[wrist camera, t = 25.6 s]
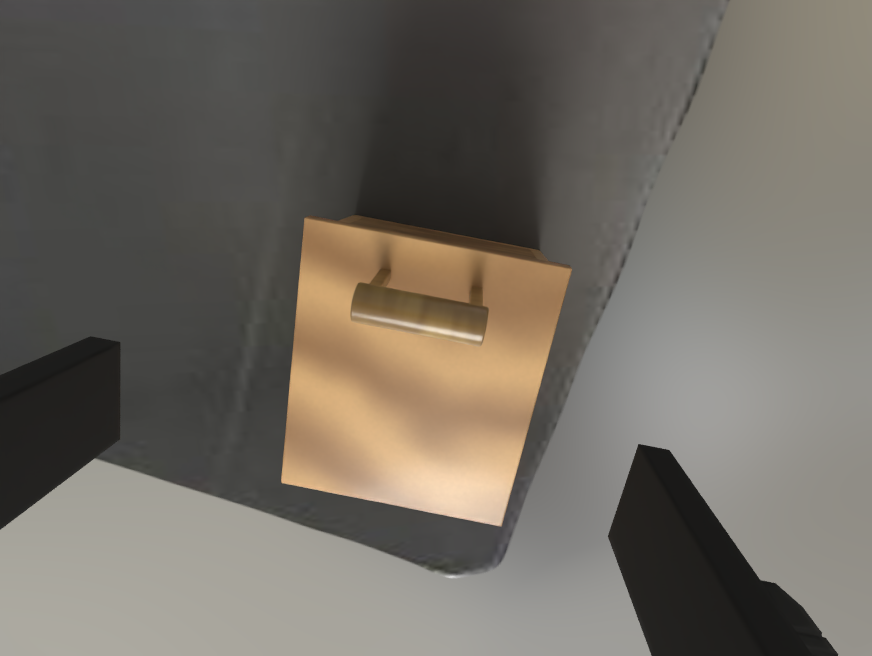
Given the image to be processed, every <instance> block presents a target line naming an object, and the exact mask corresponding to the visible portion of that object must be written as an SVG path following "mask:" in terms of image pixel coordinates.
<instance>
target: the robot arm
mask: <svg viewBox="0 0 872 656" xmlns="http://www.w3.org/2000/svg"><path fill="white" fill-rule="evenodd" d="M119 439H120V342H116V341H111V340H106V339H101V338H96V337H91V336H90V337H88V338H86V339H83V340H81V341H79V342H76V343H74V344H72V345H69V346H67V347H65V348H63V349H60V350H58V351H56V352H53V353H51V354H49V355H46V356H44V357H42V358H39V359H37V360H35V361H32V362H30V363H28V364H25V365H23V366H21V367H18V368H16V369H14V370H11V371H9V372H7V373H4V374H2V375H0V529H1V528H3V527H4V526H6V525H7V524H8V523H10V522H11V521H12V520H14V519H15V518H16V517H18V516H19V515H20V514H21V513H23V512H24V511H26V510H27V509H28V508H29V507H31V506H32V505H33V504H35V503H36V502H37V501H39V500H40V499H41V498H43V497H44V496H45V495H47V494H48V493H49V492H51V491H52V490H53V489H55V488H56V487H57V486H58V485H60V484H61V483H63V482H64V481H65V480H67V479H68V478H69V477H71V476H72V475H73V474H74V473H76V472H77V471H78V470H80V469H81V468H82V467H83V466H85V465H86V464H88V463H89V462H90V461H92V460H93V459H94V458H96V457H97V456H98V455H100V454H101V453H102V452H104V451H105V450H106V449H108V448H109V447H110V446H112V445H113V444H114V443H115V442H117V441H118V440H119ZM608 537H609V540H610V543H611V546H612V549H613V551H614V554H615V557H616V559H617V562H618V565H619V567H620V570H621V573H622V576H623V579H624V581H625V584H626V587H627V589H628V592H629V595H630V598H631V600H632V603H633V606H634V609H635V611H636V614H637V617H638V620H639V622H640V625H641V628H642V631H643V633H644V636H645V638H646V641H647V644H648V647H649V649H650V652H651V655H652V656H838V654H837V652H836V651H835V650H834V649H833V647H832V646H831V644H830V643H829V642H828V640H827V639H826V638H824V637H822V635H821V634H822V632H821V631H820V630H819V628H818V627H817V626H816V624H815V623H814V622H813V620H812V619H811V618H810V616H809V615H808V614H807V613H806V611H805V610H804V608H803V607H802V606H801V605H800V604H798V603H797V602H796V601H795V600H794V599H793V598H792V597H790V596H789V595H788V594H787V593H786V592H785V591H784V590H782V589H781V588H780V587H779V586H778V585H777V584H775V583H771V582H766V581H761V580H760V579H759V578H758V576H757V575H756V573H755V572H754V571H753V569H752V568H751V566H750V565H749V563H748V562H747V561H746V559H745V558H744V556H743V555H742V554H741V552H740V551H739V549H738V548H737V546H736V545H735V543H734V542H733V541H732V539H731V538H730V536H729V535H728V533H727V532H726V530H725V529H724V528H723V526H722V525H721V523H720V522H719V520H718V519H717V518H716V516H715V515H714V513H713V512H712V511H711V509H710V508H709V506H708V505H707V503H706V502H705V500H704V499H703V498H702V496H701V495H700V493H699V492H698V490H697V489H696V488H695V486H694V485H693V484H692V482H691V480H690V479H689V478H688V476H687V475H686V474H685V472H684V470H683V469H682V468H681V466H680V465H679V463H678V462H677V460H676V459H675V458H674V456H673V455H672V453H671V452H670V451H669V450H666V449H661V448H656V447H651V446H646V445H641V444H638V448H637V450H636V453H635V456H634V460H633V463H632V465H631V468H630V471H629V474H628V478H627V480H626V484H625V487H624V490H623V493H622V496H621V499H620V502H619V505H618V508H617V511H616V514H615V517H614V520H613V523H612V526H611V529H610V532H609V535H608Z"/></svg>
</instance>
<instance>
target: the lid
mask: <svg viewBox="0 0 872 656" xmlns="http://www.w3.org/2000/svg"><path fill="white" fill-rule="evenodd" d="M571 271H572V268H571V267H570V266H569V265H565V264H560V263H555V262H550V261H544V260H539V259H534V258H529V257H524V256H518V255H513V254H508V253H503V252H497V251H492V250H487V249H482V248H477V247H471V246H466V245H461V244H456V243H451V242H445V241H440V240H435V239H430V238H424V237H419V236H414V235H409V234H404V233H398V232H393V231H388V230H383V229H378V228H372V227H367V226H362V225H357V224H351V223H346V222H341V221H336V220H331V219H325V218H320V217H315V216H307V217H305V218H304V230H303V241H302V252H301V264H300V275H299V286H298V298H297V309H296V320H295V331H294V343H293V354H292V365H291V377H290V388H289V399H288V411H287V422H286V433H285V444H284V456H283V467H282V478H281V482H282V483H286V484H291V485H296V486H301V487H306V488H311V489H316V490H321V491H326V492H331V493H336V494H341V495H346V496H351V497H356V498H361V499H366V500H371V501H376V502H381V503H386V504H391V505H396V506H401V507H406V508H411V509H416V510H421V511H426V512H431V513H436V514H441V515H446V516H451V517H456V518H461V519H466V520H471V521H476V522H481V523H486V524H491V525H496V526H502V523H503V519H504V516H505V512H506V508H507V505H508V501H509V497H510V494H511V490H512V486H513V483H514V479H515V475H516V472H517V468H518V465H519V461H520V457H521V454H522V450H523V446H524V443H525V439H526V435H527V432H528V428H529V424H530V421H531V417H532V413H533V410H534V406H535V402H536V399H537V395H538V391H539V388H540V384H541V381H542V377H543V373H544V370H545V366H546V362H547V359H548V355H549V351H550V348H551V344H552V340H553V337H554V333H555V329H556V326H557V322H558V318H559V315H560V311H561V307H562V304H563V300H564V297H565V293H566V289H567V286H568V282H569V278H570V275H571Z"/></svg>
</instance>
